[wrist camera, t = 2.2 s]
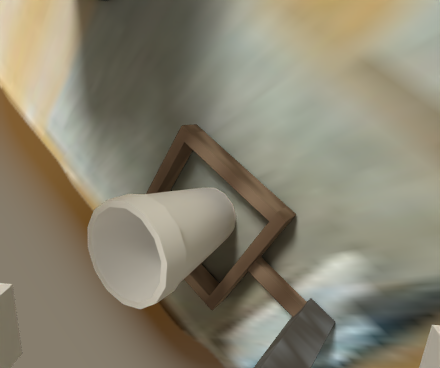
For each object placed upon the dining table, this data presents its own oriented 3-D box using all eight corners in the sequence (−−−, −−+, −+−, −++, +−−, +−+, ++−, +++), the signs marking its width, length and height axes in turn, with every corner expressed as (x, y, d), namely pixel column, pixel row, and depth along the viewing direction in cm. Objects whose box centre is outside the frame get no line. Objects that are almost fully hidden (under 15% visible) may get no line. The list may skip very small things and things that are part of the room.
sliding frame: (146, 215, 45) (31, 257, 32) (196, 124, 38) (73, 133, 25) (283, 365, 37) (202, 492, 25) (376, 286, 30) (326, 409, 18)
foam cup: (245, 173, 36) (159, 202, 25) (252, 258, 37) (173, 319, 27) (175, 174, 41) (79, 198, 30) (183, 248, 43) (95, 295, 32)
